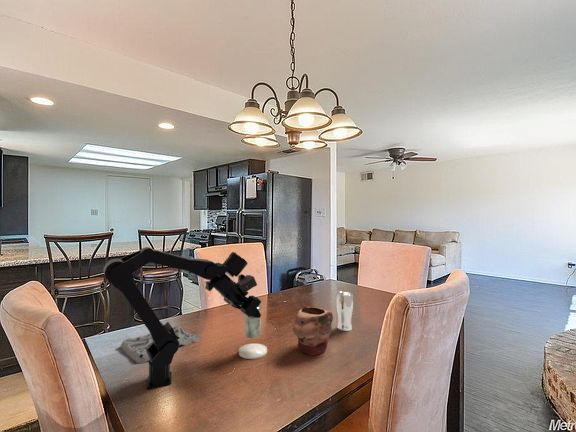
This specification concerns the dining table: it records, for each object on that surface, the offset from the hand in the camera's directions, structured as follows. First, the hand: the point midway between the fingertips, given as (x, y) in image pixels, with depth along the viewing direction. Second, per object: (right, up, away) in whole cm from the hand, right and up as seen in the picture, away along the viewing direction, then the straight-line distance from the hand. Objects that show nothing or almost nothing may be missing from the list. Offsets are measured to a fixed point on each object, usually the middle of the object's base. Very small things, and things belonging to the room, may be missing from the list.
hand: (256, 314), depth 102 cm
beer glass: (+36, -13, +20) cm, 43 cm away
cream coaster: (-1, -13, -1) cm, 13 cm away
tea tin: (-1, -7, -1) cm, 7 cm away
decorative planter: (+21, -13, +3) cm, 25 cm away
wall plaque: (-36, -14, +5) cm, 39 cm away
